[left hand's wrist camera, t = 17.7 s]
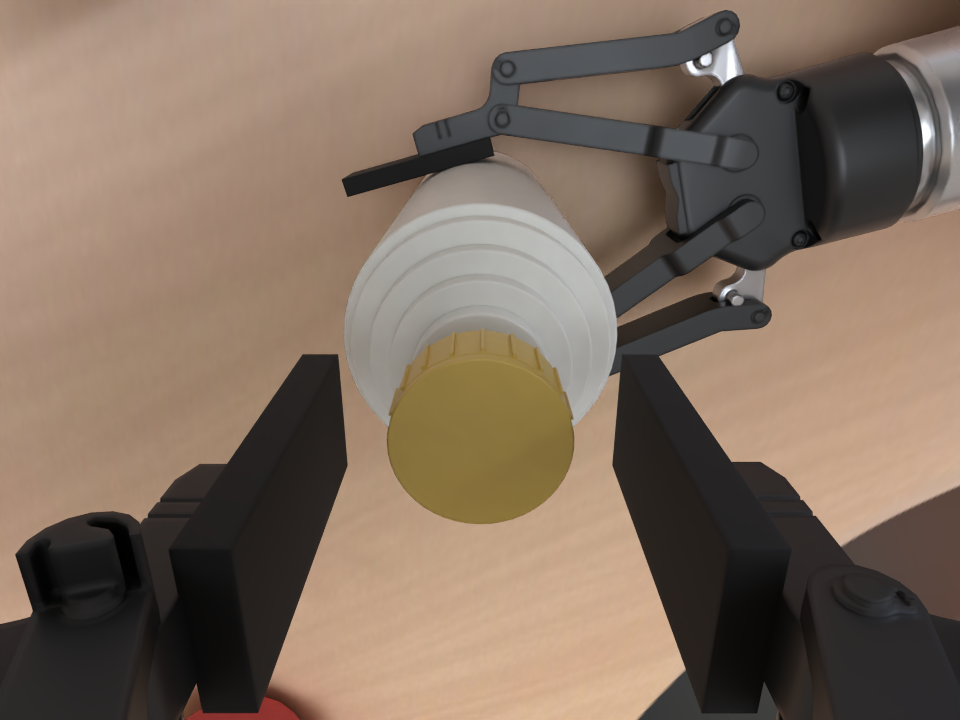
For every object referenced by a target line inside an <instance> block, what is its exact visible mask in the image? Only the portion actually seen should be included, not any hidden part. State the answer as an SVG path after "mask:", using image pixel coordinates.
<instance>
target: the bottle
mask: <svg viewBox="0 0 960 720" xmlns="http://www.w3.org/2000/svg"><path fill="white" fill-rule="evenodd" d="M494 155H495V156H492V157H488V158H485V159H481V160H478V161H474V162H471V163H467V164H463V165H460V166H456V167H453V168H449V169H446V170H442V171H438V172H435V173H431V174H428V175H426V176H425V178H424V179H423V180H422V182H421V183H420V184H419V186H418V187H417V189H416V190H415V192H414V193H413V194H412V196H411V197H410V199H409V200H408V202H407V203H406V205H405V206H404V207H403V209H402V210H401V212H400V213H399V215H398V216H397V217H396V219H395V220H394V222H393V223H392V225H391V226H390V227H389V229H388V230H387V232H386V233H385V235H384V236H383V237H382V239H381V240H380V242H379V243H378V245H377V246H376V248H375V249H374V250H373V252H372V253H371V255H370V256H369V258H368V259H367V260H366V262H365V263H364V265H363V267H362V268H361V270H360V272H359V274H358V276H357V277H356V279H355V282H354V284H353V287H352V289H351V292H350V295H349V298H348V302H347V307H346V311H345V320H344V345H345V351H346V356H347V361H348V365H349V368H350V371H351V374H352V377H353V380H354V382H355V384H356V386H357V388H358V390H359V392H360V394H361V395H362V397H363V398H364V400H365V401H366V403H367V404H368V405H369V407H370V408H371V409H372V411H373V412H374V413H375V414H376V415H377V416H378V417H379V419H380V420H381V421H382V422H383V423H384V424H385V425H386V426H387V427H389V422H390V419H391V416H389V411H390V407H391V404H392V400H393V397H394V394H395V390H396V388H399V387H400V384H401V381H402V378H403V376H404V372H405V369H406V366H407V364H409V365H411V363H412V362H413V361H414V360H415V358H416V357H417V356H418V355H419V354H420V353H421V352H423V351H424V350H425V346H426V345H428V344H429V346H430V345H432V344H434V343H435V342H437V341H439V340H441V339H443V338H445V337H448V336H450V335H451V333H453V332H455V333H456V334H457V333H461V332H467V331H479V330H481V328H484V329H485V331H495V332H500V333H504V334H508V335H510V333H511V334H514V337H516V338H518V339H520V340H522V341H524V342H526V343H528V344H529V345H531V346H532V347H534V348H536V347H538V348H539V350H540V353H541V354H542V355H543V356H544V357H545V358H546V359H547V361H548V362H549V363H550V364H551V366H552V367H553V368H555V367H556V369H557V371H558V374H559V378H560V381H561V385H562V388H563V392H566V393H567V397H568V400H569V404H570V407H571V410H572V414H573V418H574V419H573V420H571V422H572V425H573V427H574V426H575V425H576V423H577V422H578V421H579V420H580V419H581V418H582V417H583V416H584V415H585V414H586V413H587V412H588V411H589V409H590V408H591V406H592V405H593V404H594V402H595V401H596V400H597V398H598V397H599V395H600V393H601V391H602V389H603V388H604V386H605V384H606V381H607V379H608V376H609V374H610V371H611V369H612V365H613V361H614V356H615V352H616V343H617V318H616V312H615V307H614V302H613V298H612V295H611V292H610V289H609V286H608V284H607V282H606V280H605V278H604V276H603V274H602V272H601V270H600V268H599V267H598V265H597V264H596V262H595V261H594V259H593V258H592V256H591V255H590V253H589V252H588V251H587V249H586V248H585V246H584V245H583V244H582V242H581V241H580V239H579V238H578V236H577V235H576V234H575V232H574V231H573V229H572V228H571V226H570V225H569V224H568V222H567V221H566V219H565V218H564V216H563V215H562V214H561V212H560V211H559V209H558V208H557V207H556V205H555V204H554V202H553V201H552V199H551V198H550V197H549V195H548V194H547V192H546V191H545V189H544V188H543V187H542V185H541V184H540V182H539V181H538V179H537V178H536V177H535V176H534V175H533V173H532V172H531V171H530V170H529V169H528V168H526V167H525V166H524V165H523V164H522V163H520V162H518V161H517V160H515V159H514V158H511V157H509V156H507V155H505V154H501V153H498V152H494Z"/></svg>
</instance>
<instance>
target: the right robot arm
mask: <svg viewBox="0 0 960 720" xmlns="http://www.w3.org/2000/svg"><path fill="white" fill-rule="evenodd" d="M739 27H740V23H739V19H738V17H737V15H736V14H735V13H734V12H732V11H728V10H724V11H721V12H718V13H715V14H712V15H709V16H706V17H704V18H701V19H699V20H697V21H695V22H693V23H691V24H689V25H687V26H685V27H683V28H681V29H679V30H677V31H675V32H674V33H671V34H663V35H654V36H645V37H636V38H628V39H619V40H610V41H601V42H593V43H584V44H575V45H566V46H558V47H549V48H540V49H531V50H523V51H514V52H506V53H503V54H500V55H499V56H498V57H497V58H496V59H495V61H494V62H493V65H492V69H491V80H490V92H489V97H488V99H487V102H486V103H485V104H484V105H483V106H482V107H481V108H479V109H477V110H474V111H470V112H467V113H463V114H460V115H456V116H453V117H449V118H446V119H442V120H439V121H436V122H432V123H429V124H425V125H423V126H422V127H420V128H419V129H418V130H417V131H415V132H414V133H413V137H414V141H415V144H416V148H417V151H418V154H417V155H414V156H410V157H407V158H403V159H400V160H396V161H393V162H389V163H386V164H382V165H379V166H375V167H372V168H368V169H365V170H361V171H358V172H354V173H352V174H350V175H348V176H347V177H345V178H343V179H342V182H343V185H344V188H345V191H346V194H347V197H349V196H353V195H356V194H360V193H363V192H367V191H371V190H374V189H378V188H381V187H385V186H388V185H392V184H396V183H399V182H403V181H406V180H410V179H413V178H417V177H421V176H424V175H428V174H431V173H435V172H438V171H442V170H446V169H449V168H453V167H456V166H460V165H463V164H467V163H471V162H474V161H478V160H481V159H485V158H488V157H492V156H495V155H494V151H493V147H492V143H491V139H490V138H491V137H494V136H498V135H508V136H514V137H521V138H528V139H535V140H542V141H549V142H556V143H563V144H570V145H577V146H584V147H591V148H597V149H604V150H611V151H618V152H625V153H632V154H639V155H645V156H651V157H656V158H660V160H657V167H658V174H659V178H660V180H661V182H662V185H663V187H664V189H665V191H666V203H665V216H666V222H667V228H666V229H665V230H663V231H662V232H661V233H659V234H658V235H656V236H655V237H654V238H653V239H652V240H651V242H650V244H649V245H648V246H647V247H645V248H644V249H642V250H641V251H640V252H638V253H637V254H636V255H634V256H633V257H631V258H630V259H629V260H627V261H626V262H624V263H623V264H622V265H620V266H619V267H618V268H616V269H615V270H613V271H612V272H611V273H609V274H608V275H606V276H605V277H604V278H605V280H606V282H607V284H608V286H609V289H610V292H611V295H612V298H613V302H614V307H615V312H616V318H618V317H619V316H621V315H622V314H624V313H625V312H627V311H628V310H629V309H631V308H632V307H634V306H635V305H637V304H638V303H639V302H641V301H642V300H644V299H645V298H647V297H648V296H649V295H651V294H652V293H654V292H655V291H656V290H658V289H659V288H661V287H662V286H664V285H665V284H666V283H668V282H669V281H671V280H672V279H674V278H675V277H678V276H683V275H685V274H687V273H689V272H691V271H692V270H694V269H695V268H696V267H698V266H699V265H701V264H702V263H704V262H705V261H707V260H708V259H709V258H711V257H712V256H713V257H715V258H718V259H721V260H723V261H726V262H728V263H731V264H733V265H736V266H737V269H736V271H735V273H734V274H733V275H732V276H731V277H729V278H727V279H724V280H721V281H720V282H718V283H717V284H716V285H715V287H714V289H713V292H708V293H703V294H699V295H696V296H693V297H690V298H687V299H685V300H682V301H680V302H677V303H675V304H673V305H670V306H668V307H665V308H663V309H660V310H658V311H656V312H653V313H651V314H648V315H646V316H643V317H641V318H639V319H636V320H634V321H631V322H629V323H626V324H624V325H622V326H619V327H617V343H616V352H615V356H614V361H613V365H612V369H611V371H610V374H609V376H611V375H613V374H616V373H618V372H620V371H621V359H622V354H657V355H658V356H661V355H663V354H666V353H668V352H671V351H673V350H676V349H678V348H681V347H683V346H686V345H688V344H691V343H693V342H696V341H698V340H701V339H703V338H706V337H708V336H711V335H713V334H716V333H718V332H721V331H732V330H746V329H758V328H762V327H764V326H766V325H767V324H768V323H769V321H770V319H771V316H772V314H771V310H770V308H769V307H768V306H767V305H765V304H764V303H763V293H764V281H765V270H766V269H767V268H769V267H771V266H772V265H774V264H775V263H776V262H777V261H778V260H780V259H781V258H782V257H784V256H785V255H787V254H789V253H791V252H793V251H796V250H800V249H805V248H809V247H814V246H818V245H822V244H826V243H830V242H834V241H838V240H842V239H846V238H849V237H853V236H857V235H861V234H865V233H869V232H873V231H877V230H881V229H885V228H888V227H890V226H892V225H894V224H895V223H896V222H897V221H901V222H915V221H918V220H922V219H926V218H929V217H933V216H937V215H940V214H944V213H948V212H951V211H955V210H959V209H960V26H956V27H952V28H949V29H945V30H941V31H938V32H934V33H930V34H927V35H923V36H920V37H916V38H912V39H909V40H905V41H901V42H898V43H894V44H891V45H888V46H885V47H882V48H880V49H879V50H877V51H876V52H875V53H874V54H870V53H858V54H854V55H851V56H847V57H843V58H840V59H836V60H833V61H829V62H826V63H822V64H818V65H815V66H811V67H808V68H804V69H801V70H797V71H793V72H790V73H786V74H783V75H779V76H776V77H771V78H761V77H757V76H754V75H749V74H744V71H743V68H742V65H741V62H740V58H739V55H738V52H737V49H736V45H735V42H734V38H735V37H736V35H737V34H738V31H739ZM676 65H680V68H681V70H682V72H683V73H684V74H685V75H687V76H689V77H699V76H707V77H709V78H710V79H711V80H712V81H713V83H714V85H715V86H714V87H713V88H712V89H711V90H710V91H709V92H708V94H707V95H706V96H705V97H704V98H703V99H702V101H701V102H700V103H699V104H698V105H697V106H696V107H695V109H694V110H693V111H692V112H691V113H690V114H689V115H688V117H687V118H686V119H685V120H684V121H683V122H682V124H681V125H680V126H679V127H678V128H677V129H674V128H668V127H661V126H654V125H647V124H640V123H633V122H627V121H620V120H613V119H606V118H599V117H593V116H586V115H579V114H572V113H565V112H559V111H552V110H545V109H538V108H531V107H524V106H518V98H519V88H520V84H527V83H536V82H545V81H554V80H563V79H572V78H581V77H590V76H599V75H608V74H616V73H625V72H634V71H643V70H652V69H658V68H664V67H670V66H676Z"/></svg>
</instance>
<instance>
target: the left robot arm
mask: <svg viewBox="0 0 960 720" xmlns="http://www.w3.org/2000/svg"><path fill="white" fill-rule="evenodd" d="M346 468H347V453H346V441H345V429H344V418H343V406H342V394H341V382H340V371H339V359H338V354H303V355H302V356H301V358H300V359H299V361H298V362H297V364H296V365H295V366H294V368H293V369H292V371H291V372H290V374H289V375H288V377H287V378H286V379H285V381H284V382H283V384H282V385H281V387H280V388H279V390H278V391H277V393H276V394H275V395H274V397H273V398H272V400H271V401H270V403H269V404H268V406H267V407H266V408H265V410H264V411H263V413H262V414H261V416H260V417H259V419H258V420H257V421H256V423H255V424H254V426H253V427H252V429H251V430H250V432H249V433H248V435H247V436H246V437H245V439H244V440H243V442H242V443H241V445H240V446H239V448H238V449H237V450H236V452H235V453H234V455H233V456H232V458H231V459H230V461H229V462H228V463H227V464H199V465H198V466H196V467H195V468H193V469H191V470H190V471H188V472H187V473H185V474H184V475H182V476H181V477H179V478H178V479H176V480H175V481H174V482H173V483H172V485H171V486H170V487H169V488H168V490H167V491H166V492H165V493H164V495H163V496H162V497H161V498H160V502H157V503H156V505H155V506H154V507H153V509H152V510H151V511H150V512H149V514H148V518H145V519H144V520H143V521H142V522H141V524H139V522H138V521H137V520H136V519H134V518H133V517H132V516H130V515H129V514H124V513H118V512H113V511H111V512H95V513H88V514H84V515H80V516H76V517H72V518H68V519H66V520H63V521H61V522H59V523H57V524H54V525H52V526H50V527H47V528H45V529H44V530H42V531H41V532H39V533H38V534H36V535H35V536H33V537H32V538H30V539H29V540H27V541H26V542H25V544H24V545H23V546H22V547H21V548H20V550H19V551H18V552H17V553H16V554H15V555H16V559H17V562H18V565H19V568H20V571H21V574H22V578H23V581H24V584H25V587H26V590H27V593H28V596H29V600H30V603H31V606H32V609H33V612H32V615H31V617H28V618H25V619H21V620H17V621H13V622H8V623H3V624H0V720H184V717H183V713H182V712H183V710H184V708H185V706H186V704H187V702H188V700H189V698H190V696H191V693H192V691H193V689H194V687H195V685H196V683H197V688H198V692H199V697H200V702H201V707H202V711H203V713H258V712H259V710H260V707H261V704H262V701H263V699H264V696H265V693H266V690H267V687H268V685H269V682H270V679H271V676H272V674H273V671H274V668H275V665H276V663H277V660H278V657H279V654H280V651H281V649H282V646H283V643H284V640H285V638H286V635H287V632H288V629H289V626H290V624H291V621H292V618H293V615H294V613H295V610H296V607H297V604H298V601H299V599H300V596H301V593H302V590H303V588H304V585H305V582H306V579H307V576H308V574H309V571H310V568H311V565H312V563H313V560H314V557H315V554H316V551H317V549H318V546H319V543H320V540H321V538H322V535H323V532H324V529H325V527H326V524H327V521H328V518H329V515H330V513H331V510H332V507H333V504H334V502H335V499H336V496H337V493H338V490H339V488H340V485H341V482H342V479H343V477H344V474H345V471H346ZM613 468H614V471H615V474H616V477H617V479H618V482H619V485H620V488H621V490H622V493H623V496H624V499H625V502H626V504H627V507H628V510H629V513H630V515H631V518H632V521H633V524H634V527H635V529H636V532H637V535H638V538H639V540H640V543H641V546H642V549H643V551H644V554H645V557H646V560H647V563H648V565H649V568H650V571H651V574H652V576H653V579H654V582H655V585H656V588H657V590H658V593H659V596H660V599H661V601H662V604H663V607H664V610H665V613H666V615H667V618H668V621H669V624H670V626H671V629H672V632H673V635H674V638H675V640H676V643H677V646H678V649H679V651H680V654H681V657H682V660H683V663H684V665H685V668H686V671H687V674H688V676H689V679H690V682H691V685H692V687H693V690H694V693H695V696H696V699H697V701H698V704H699V707H700V710H701V712H702V713H757V711H758V707H759V702H760V697H761V692H762V688H763V683H764V682H765V684H766V686H767V688H768V690H769V692H770V694H771V696H772V698H773V700H774V702H775V704H776V707H777V709H778V713H777V717H776V720H960V621H956V620H951V619H946V618H942V617H938V616H935V615H931V614H929V613H928V611H927V609H926V608H925V606H924V605H923V604H922V602H921V601H920V600H919V598H918V597H917V595H915V594H914V593H913V592H912V591H910V590H909V589H908V588H906V587H905V586H904V585H903V584H901V583H900V582H899V581H897V580H895V579H893V578H891V577H889V576H886V575H884V574H882V573H880V572H878V571H875V570H872V569H868V568H865V567H861V566H858V565H855V564H854V563H853V562H852V560H851V559H850V558H849V557H848V555H847V554H846V553H845V552H844V551H843V549H842V548H841V547H840V545H839V544H838V543H837V542H836V541H835V539H834V538H833V537H832V536H831V534H830V533H829V532H828V531H827V529H826V528H825V527H824V526H823V524H822V523H821V522H820V521H819V519H818V518H817V517H816V516H813V514H812V511H811V509H810V508H809V507H808V506H807V504H806V503H805V502H804V501H803V500H800V496H799V494H798V493H797V492H796V491H795V489H794V488H793V487H792V486H791V484H790V483H789V482H788V481H787V479H786V478H785V477H783V476H782V475H780V474H778V473H777V472H775V471H774V470H772V469H771V468H769V467H768V466H766V465H764V464H763V463H761V462H731V461H730V459H729V458H728V456H727V455H726V453H725V452H724V450H723V449H722V448H721V446H720V445H719V443H718V442H717V440H716V439H715V437H714V436H713V435H712V433H711V432H710V430H709V429H708V427H707V426H706V424H705V423H704V421H703V420H702V419H701V417H700V416H699V414H698V413H697V411H696V410H695V408H694V407H693V406H692V404H691V403H690V401H689V400H688V398H687V397H686V395H685V394H684V393H683V391H682V390H681V388H680V387H679V385H678V384H677V382H676V381H675V379H674V378H673V377H672V375H671V374H670V372H669V371H668V369H667V368H666V366H665V365H664V364H663V362H662V361H661V359H660V358H659V356H658V355H657V354H622V359H621V371H620V382H619V394H618V406H617V418H616V429H615V441H614V453H613Z"/></svg>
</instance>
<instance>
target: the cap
mask: <svg viewBox="0 0 960 720" xmlns="http://www.w3.org/2000/svg"><path fill="white" fill-rule="evenodd" d="M389 416H391V419H390V422H389V427H388V433H387V448H388V455H389V459H390V463H391V466H392V468H393V471H394V473H395V475H396V477H397V479H398V480H399V482H400V484H401V485H402V486H403V488H404V489H405V490H406V492H407V493H408V494H409V495H410V496H411V497H412V498H413V499H414V500H415V501H417V502H418V503H419V504H421V505H422V506H423V507H425V508H426V509H428V510H430V511H431V512H433V513H435V514H437V515H440V516H442V517H444V518H447V519H451V520H454V521H458V522H463V523H471V524H491V523H498V522H503V521H507V520H511V519H514V518H517V517H519V516H522V515H524V514H526V513H528V512H530V511H532V510H534V509H535V508H536V507H538V506H539V505H541V504H542V503H543V502H545V501H546V500H547V499H548V498H549V497H550V496H551V495H552V494H553V493H554V492H555V491H556V489H557V488H558V487H559V485H560V484H561V482H562V481H563V479H564V478H565V476H566V474H567V472H568V469H569V467H570V464H571V461H572V457H573V451H574V432H573V425H572V422H571V420H573V419H574V418H573V414H572V410H571V407H570V404H569V400H568V397H567V393H566V392H563V388H562V385H561V381H560V378H559V374H558V371H557V369H556V367H555V368H553V367H552V366H551V364H550V363H549V362H548V361H547V359H546V358H545V357H544V356H543V355H542V354H541V353H540V350H539V348H538V347H536V348H534V347H532V346H531V345H529V344H528V343H526V342H524V341H522V340H520V339H518V338H516V337H514V334H511V333H510V335H508V334H504V333H500V332H495V331H485V329H484V328H481V330H479V331H467V332H461V333H457V334H456V333H455V332H453V333H451V335H450V336H448V337H445V338H443V339H441V340H439V341H437V342H435V343H434V344H432V345H430V346H429V344H428V345H426V346H425V350H424V351H423V352H421V353H420V354H419V355H418V356H417V357H416V358H415V360H414V361H413V362H412V363H411V365H409V364H407V366H406V369H405V372H404V376H403V378H402V381H401V384H400V387H399V388H396V390H395V394H394V397H393V400H392V404H391V407H390V411H389Z"/></svg>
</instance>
